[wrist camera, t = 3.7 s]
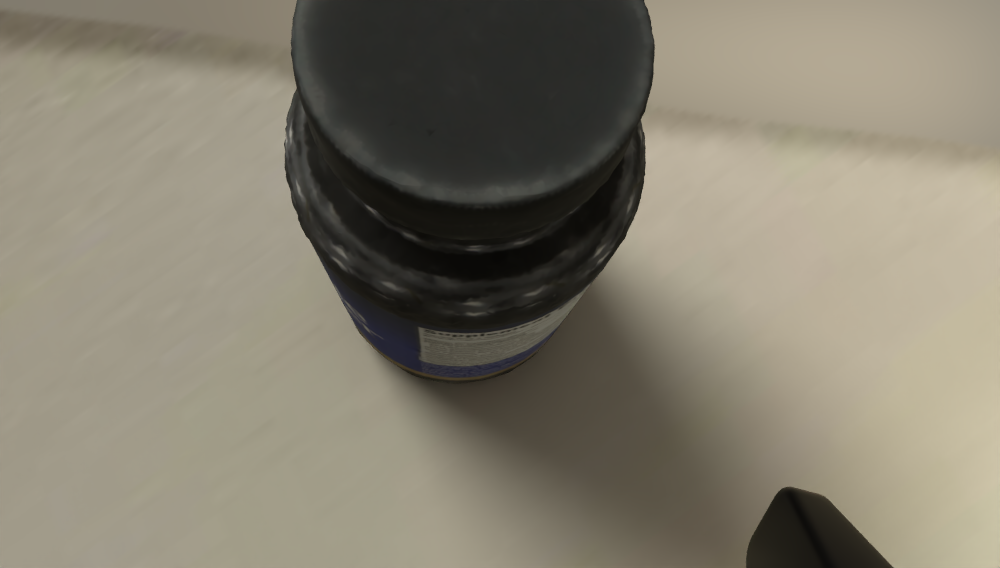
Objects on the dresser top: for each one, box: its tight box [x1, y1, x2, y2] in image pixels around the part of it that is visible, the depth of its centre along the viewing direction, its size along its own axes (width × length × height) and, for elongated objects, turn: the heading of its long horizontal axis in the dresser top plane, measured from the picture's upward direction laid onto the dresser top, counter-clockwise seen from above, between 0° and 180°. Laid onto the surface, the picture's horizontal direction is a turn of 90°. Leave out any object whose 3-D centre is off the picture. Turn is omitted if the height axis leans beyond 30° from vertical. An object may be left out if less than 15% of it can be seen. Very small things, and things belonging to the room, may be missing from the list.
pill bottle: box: [284, 0, 655, 383], centre depth 15 cm, size 6×6×11 cm
